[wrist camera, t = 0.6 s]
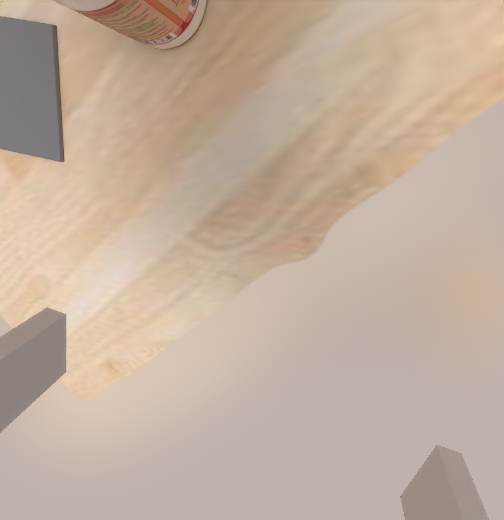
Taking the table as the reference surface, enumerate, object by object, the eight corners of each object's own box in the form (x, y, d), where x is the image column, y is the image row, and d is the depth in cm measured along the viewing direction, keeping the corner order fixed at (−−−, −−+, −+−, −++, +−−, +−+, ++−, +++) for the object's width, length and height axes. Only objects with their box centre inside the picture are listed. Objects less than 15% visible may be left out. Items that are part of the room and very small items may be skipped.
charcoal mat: (-55, 8, 36) (-61, 6, 36) (56, 26, 35) (51, 24, 34) (-33, 140, 42) (-38, 140, 41) (64, 161, 40) (60, 161, 39)
